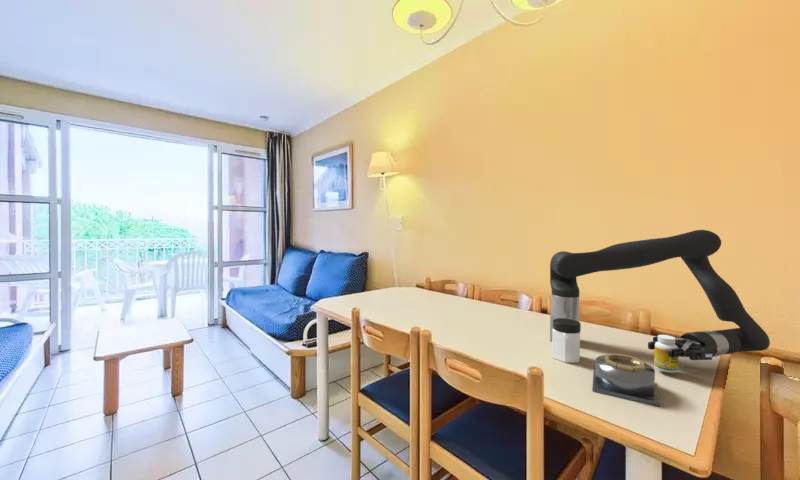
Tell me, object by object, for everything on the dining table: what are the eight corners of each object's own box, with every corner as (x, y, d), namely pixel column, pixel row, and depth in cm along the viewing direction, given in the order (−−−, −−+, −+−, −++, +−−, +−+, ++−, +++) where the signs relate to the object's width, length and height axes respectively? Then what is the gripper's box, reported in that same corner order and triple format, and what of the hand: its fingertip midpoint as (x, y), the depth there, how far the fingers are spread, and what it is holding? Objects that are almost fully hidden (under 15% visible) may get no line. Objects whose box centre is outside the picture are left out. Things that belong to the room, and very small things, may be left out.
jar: (573, 352, 111) (573, 317, 110) (586, 363, 102) (587, 325, 102) (546, 352, 111) (547, 318, 110) (558, 363, 103) (558, 325, 102)
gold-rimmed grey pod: (592, 391, 85) (592, 364, 85) (593, 370, 97) (594, 346, 97) (660, 406, 78) (661, 377, 78) (652, 382, 90) (653, 356, 89)
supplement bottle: (658, 363, 99) (659, 332, 98) (680, 370, 95) (681, 337, 94) (650, 368, 96) (651, 336, 96) (673, 375, 92) (674, 341, 91)
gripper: (679, 324, 105) (636, 329, 101) (733, 340, 91) (686, 346, 87) (678, 347, 105) (635, 352, 102) (732, 366, 91) (685, 373, 88)
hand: (659, 349), depth 94 cm, fingers closed on supplement bottle, 5 cm apart
